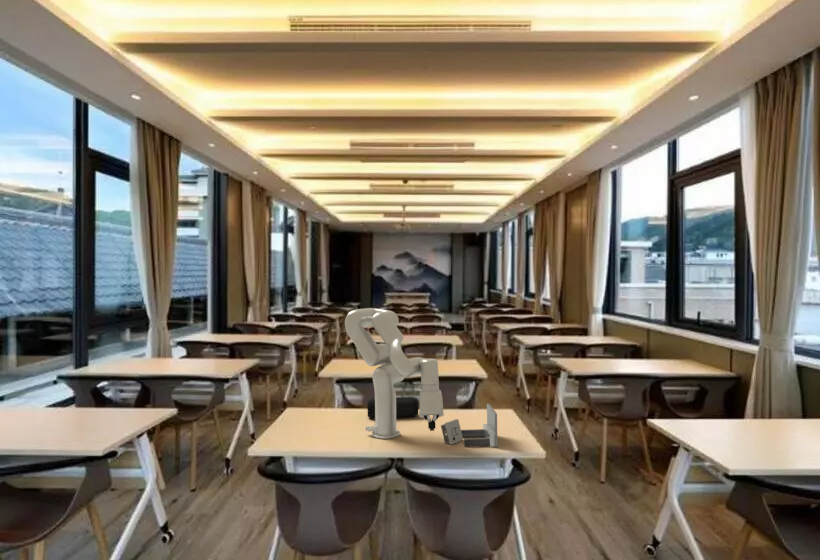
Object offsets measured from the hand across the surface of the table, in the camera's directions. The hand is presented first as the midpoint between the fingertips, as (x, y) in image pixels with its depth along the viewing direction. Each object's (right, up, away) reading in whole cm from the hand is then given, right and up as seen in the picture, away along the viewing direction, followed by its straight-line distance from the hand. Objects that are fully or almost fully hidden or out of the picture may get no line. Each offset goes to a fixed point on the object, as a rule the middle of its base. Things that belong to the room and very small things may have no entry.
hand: (432, 430), depth 243 cm
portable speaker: (-18, -6, +45) cm, 49 cm away
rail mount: (+19, -5, +1) cm, 20 cm away
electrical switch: (+9, -6, +1) cm, 10 cm away
